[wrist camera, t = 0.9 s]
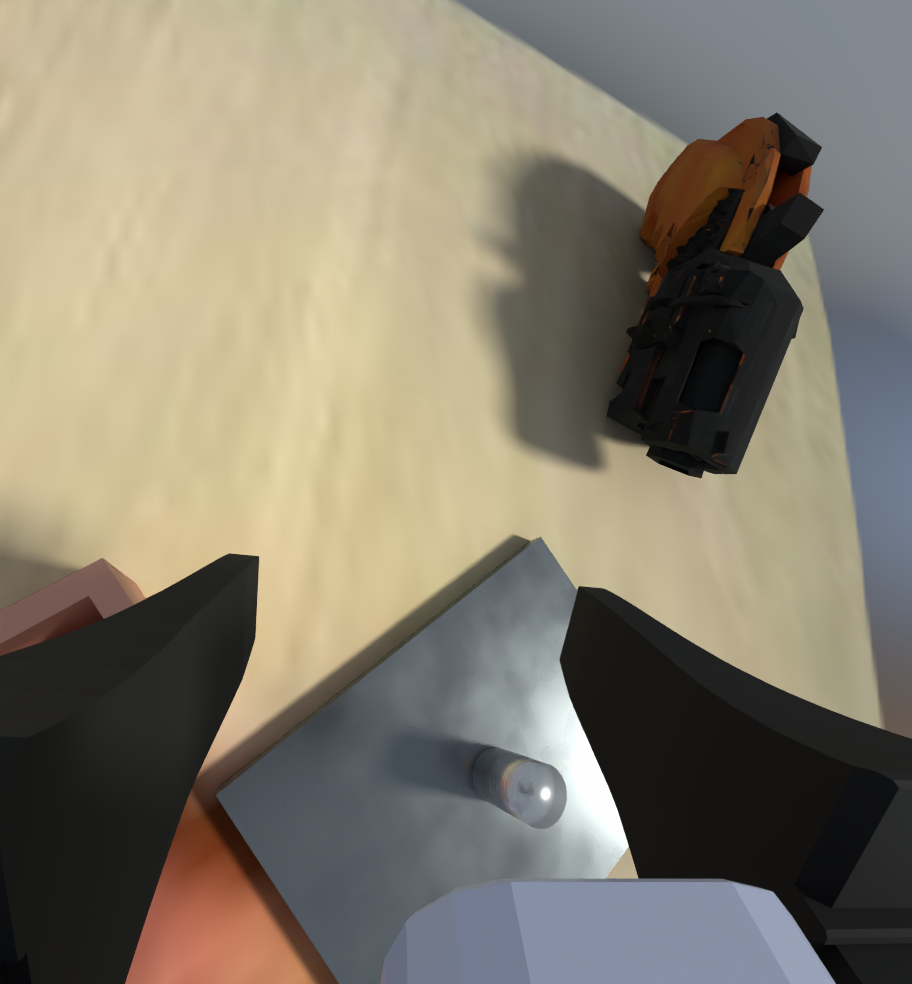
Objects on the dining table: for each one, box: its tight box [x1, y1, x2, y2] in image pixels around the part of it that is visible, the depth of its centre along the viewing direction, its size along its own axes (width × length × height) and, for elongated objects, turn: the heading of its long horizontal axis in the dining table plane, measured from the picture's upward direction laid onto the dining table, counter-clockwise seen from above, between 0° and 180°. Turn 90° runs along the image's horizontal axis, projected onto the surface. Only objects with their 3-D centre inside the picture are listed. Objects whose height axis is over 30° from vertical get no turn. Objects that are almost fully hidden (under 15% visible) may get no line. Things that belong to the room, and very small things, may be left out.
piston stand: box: [216, 537, 629, 984], centre depth 22 cm, size 18×14×5 cm
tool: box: [607, 113, 824, 478], centre depth 33 cm, size 8×23×15 cm, turn 163°
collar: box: [0, 558, 146, 656], centre depth 17 cm, size 5×5×6 cm
